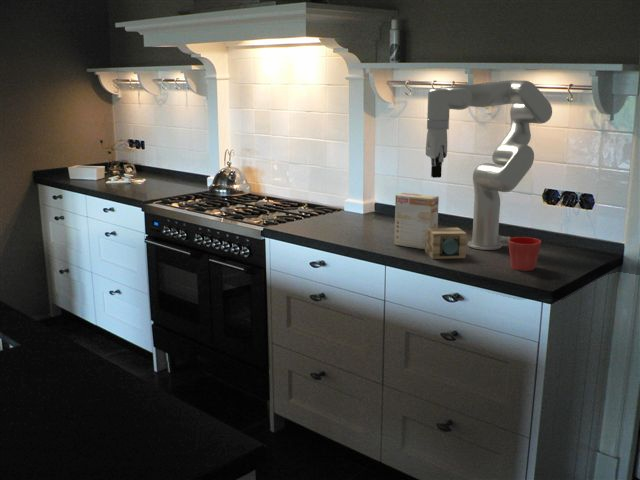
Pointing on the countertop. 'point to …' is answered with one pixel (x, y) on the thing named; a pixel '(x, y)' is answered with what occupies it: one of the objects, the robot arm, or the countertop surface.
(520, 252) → the flower pot
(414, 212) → the coffeecake box
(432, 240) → the block
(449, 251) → the peg
